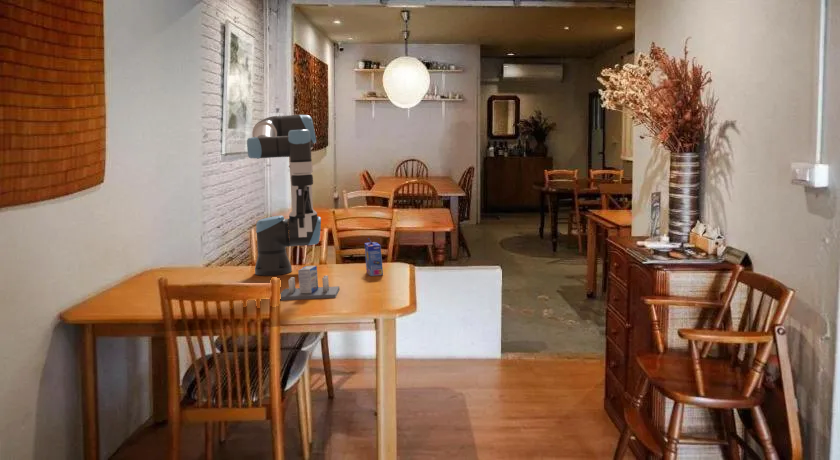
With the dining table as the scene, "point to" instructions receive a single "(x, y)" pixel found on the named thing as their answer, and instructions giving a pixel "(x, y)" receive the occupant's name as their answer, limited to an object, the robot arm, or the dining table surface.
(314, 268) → the medicine box
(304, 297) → the cradle
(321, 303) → the dining table surface
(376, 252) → the ink cartridge box
